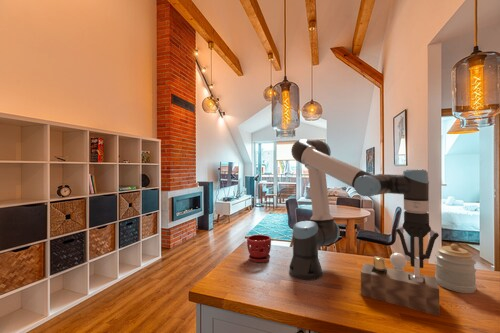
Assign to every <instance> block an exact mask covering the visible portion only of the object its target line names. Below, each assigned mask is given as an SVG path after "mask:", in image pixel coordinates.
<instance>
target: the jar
mask: <svg viewBox="0 0 500 333" xmlns="http://www.w3.org/2000/svg"><path fill="white" fill-rule="evenodd" d="M436 251H437V252H435V253H434V256H435V258H436V260H435V261H434V263H435V275H434V277H436V280H437V283H438V286H441V287H442V288H445V289H446V290H449V291H452V292H457V293H461V294H473V293H476V290H477V284H476V282H477V278H476V275H477V274H476V272H477V269H476V267H475V265H476V264H477V261H476V259H474V258H473V257H474V254H473V253H472V252H469V251H468V250H467V249H465V248H461V247H459V244H457V243H451V244H450V245H443V246H441V247H438V248H437V250H436Z"/></svg>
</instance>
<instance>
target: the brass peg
mask: <svg viewBox="0 0 500 333" xmlns="http://www.w3.org/2000/svg"><path fill="white" fill-rule="evenodd" d="M372 265H373V269H374V272H375V273H380V274H384V275H385V271H386V268H387V267H386V258H384V257H382V256H377V255H375V256H373V264H372ZM385 267H386V268H385Z"/></svg>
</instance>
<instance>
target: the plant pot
mask: <svg viewBox="0 0 500 333" xmlns="http://www.w3.org/2000/svg"><path fill="white" fill-rule="evenodd" d="M246 244H247V251H248V253H249V255H248V258H249V260H250V261H251V262H253V263H254V262H255V263H267V262H268V261H269V260H270V259H271V255H270V252H271V250H272V247H271V246H272V238H271V236H270V235H265V234H254V235H249V236H248V237H247V238H246Z"/></svg>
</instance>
